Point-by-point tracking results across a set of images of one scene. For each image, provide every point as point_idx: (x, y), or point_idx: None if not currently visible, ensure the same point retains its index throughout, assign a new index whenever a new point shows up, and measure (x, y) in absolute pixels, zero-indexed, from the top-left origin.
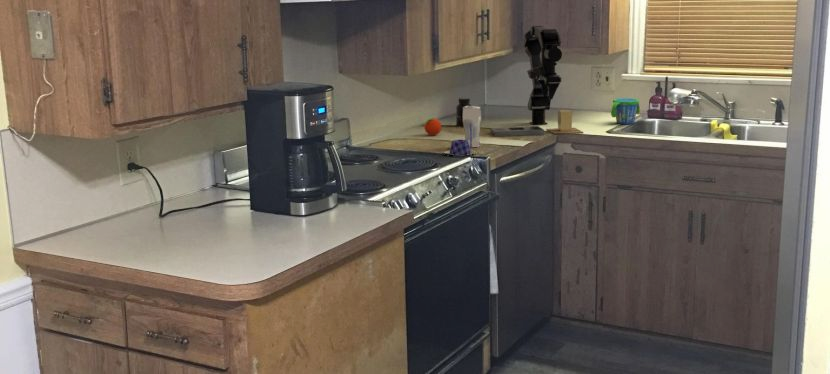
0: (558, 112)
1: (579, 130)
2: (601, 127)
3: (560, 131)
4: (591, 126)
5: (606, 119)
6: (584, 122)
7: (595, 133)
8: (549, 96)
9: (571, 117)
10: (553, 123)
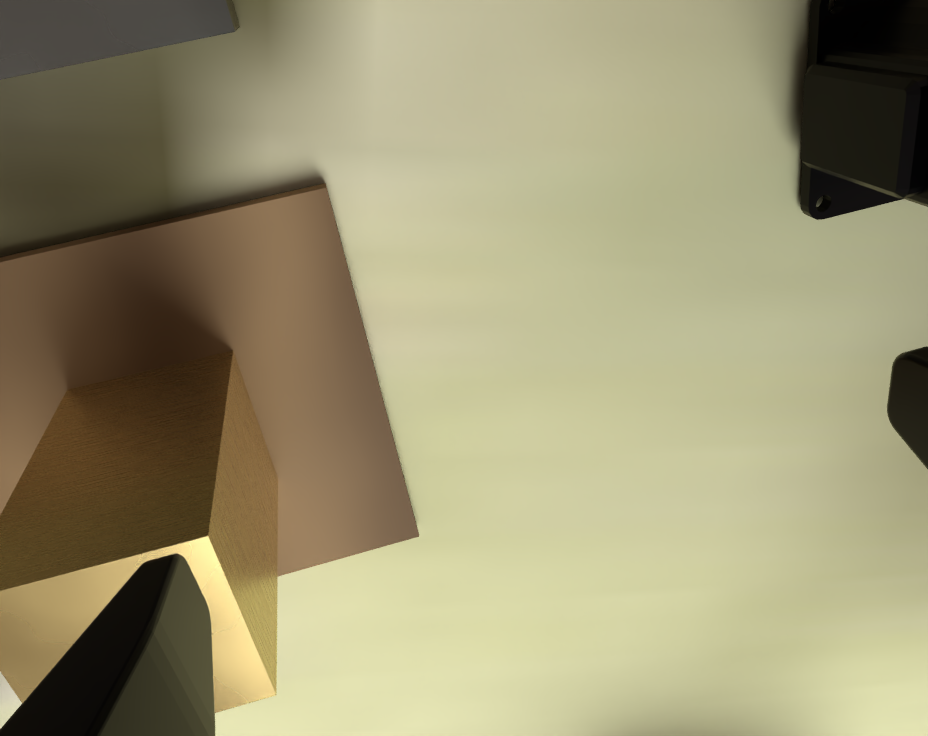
0: (177, 519)
1: None
2: (489, 732)
3: (60, 386)
4: (565, 657)
5: (914, 720)
6: (824, 586)
7: None
8: (82, 635)
9: None
10: (872, 291)
